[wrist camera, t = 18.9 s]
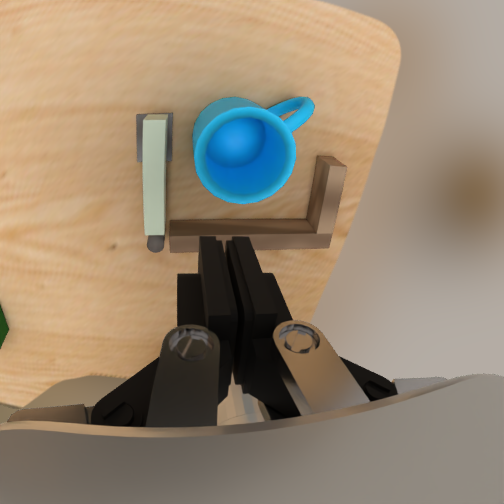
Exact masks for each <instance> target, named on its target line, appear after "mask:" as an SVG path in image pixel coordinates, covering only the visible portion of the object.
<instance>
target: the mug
mask: <svg viewBox="0 0 504 504" xmlns="http://www.w3.org/2000/svg"><path fill="white" fill-rule="evenodd" d="M314 108H315V105H314V103H313V101H312V100H311V99H310V98H308V97H297V98H292V99H289V100H287V101H284V102H281V103H279V104H277V105H275V106H273V107H271V108H269V109H267V110H266V109H264V108H262V107H261V106H259V105H257V104H255V103H254V102H252V101H250V100H248V99H244V98H239V97H229V98H222V99H220V100H217V101H215V102H213V103H211V104H209V105H208V106H207V107H206V108H205V109H204V110H203V111H202V112H201V113H200V115H199V116H198V118H197V120H196V122H195V124H194V129H193V134H192V138H193V152H194V161H195V167H196V173H197V175H198V177H199V178H200V180H201V182H202V184H203V186H204V187H205V188H206V189H207V190H209V191H210V192H211V193H212V194H213V195H214V196H216V197H218V198H220V199H222V200H224V201H227V202H231V203H238V204H247V203H254V202H259V201H261V200H263V199H265V198H268V197H270V196H272V195H273V194H274V193H275V192H277V191H278V190H279V189H280V188H281V187H283V186H284V184H285V183H286V181H287V180H288V178H289V177H290V175H291V174H292V171H293V167H294V164H295V161H296V144H295V141H294V138H293V136H292V132H293V131H295V130H296V129H297V128H299V127H300V126H301V125H302V124H304V123H305V122H306V121H307V120H308V119H309V118H310V116H311V115H312V114H313V111H314ZM297 109H298V110H297ZM294 110H297V111H296V112H295V113H294V114H292V115H291V116H290V117H288V118H287V119H286V120H284V121H282V119H281V118H279V116H281V115H283V114H285V113H288V112H291V111H294Z"/></svg>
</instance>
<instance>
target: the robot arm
mask: <svg viewBox="0 0 504 504" xmlns="http://www.w3.org/2000/svg"><path fill="white" fill-rule="evenodd" d="M0 504H504V377H503V376H499V375H495V374H472V375H466V376H460V377H455V378H452V379H446V378H442V377H431V378H410V379H393V381H392V382H390V381H389V380H387V379H386V378H384V377H383V376H380V375H378V374H376V373H374V372H371V371H369V370H367V369H365V368H363V367H361V366H359V365H357V364H354V363H352V362H350V361H348V360H346V359H343V358H342V357H340V356H338V354H337V353H336V352H335V350H334V349H333V347H332V346H331V344H330V343H329V342H328V340H327V339H326V338H325V336H324V335H323V333H322V332H321V331H320V330H319V329H318V328H317V327H315V326H314V325H312V324H310V323H307V322H304V321H298V320H293V319H292V317H291V314H290V312H289V310H288V307H287V305H286V302H285V300H284V298H283V295H282V293H281V291H280V288H279V286H278V284H277V281H276V279H275V276H274V275H273V273H262V270H261V267H260V265H259V262H258V259H257V257H256V254H255V252H254V249H253V246H252V244H251V241H250V238H249V237H248V236H232V239H231V240H226V245H225V252H224V248H223V243H222V240H216V236H199V258H198V274H177V327H176V328H174V329H172V330H171V331H170V332H168V333H167V334H166V336H165V338H164V340H163V344H162V348H161V352H160V357H158V358H157V359H155V360H154V361H153V362H151V363H150V364H149V365H147V366H146V367H145V368H143V369H142V370H141V371H139V372H138V373H136V374H135V375H134V376H132V377H131V378H130V379H128V380H127V381H125V382H124V383H123V384H121V385H120V386H119V387H117V388H116V389H114V390H113V391H112V392H110V393H109V394H107V395H106V396H105V397H103V398H102V399H101V400H100V401H99V402H97V404H96V405H95V406H90V407H85V405H84V404H77V405H67V406H57V407H44V408H31V409H22V410H18V411H16V412H15V413H13V414H12V415H11V416H10V418H9V419H8V421H7V423H1V424H0Z"/></svg>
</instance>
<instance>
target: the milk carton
mask: <svg viewBox="0 0 504 504" xmlns="http://www.w3.org/2000/svg"><path fill="white" fill-rule="evenodd" d="M8 331H9V328H8V325H7V323H6V320H5V317H4V314H3V312H2V309H1V306H0V349H1V346H2V344H3V342H4V340H5V337H6V335H7V333H8Z"/></svg>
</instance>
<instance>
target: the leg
mask: <svg viewBox="0 0 504 504" xmlns="http://www.w3.org/2000/svg"><path fill="white" fill-rule="evenodd" d="M167 128H168V114H148V115H147V116H146V117H145V119H144V120H143V207H144V228H145V235H164V234H165V223H166V154H167Z"/></svg>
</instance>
